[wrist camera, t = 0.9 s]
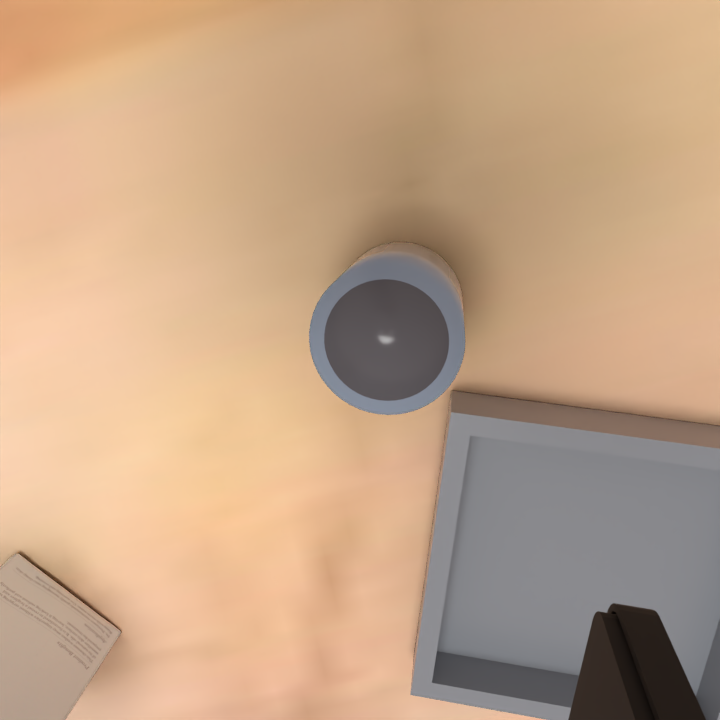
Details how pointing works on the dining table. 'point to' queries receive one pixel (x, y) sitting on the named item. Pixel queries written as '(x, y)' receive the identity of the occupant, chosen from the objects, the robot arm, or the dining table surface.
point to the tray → (564, 549)
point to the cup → (390, 330)
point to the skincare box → (45, 644)
